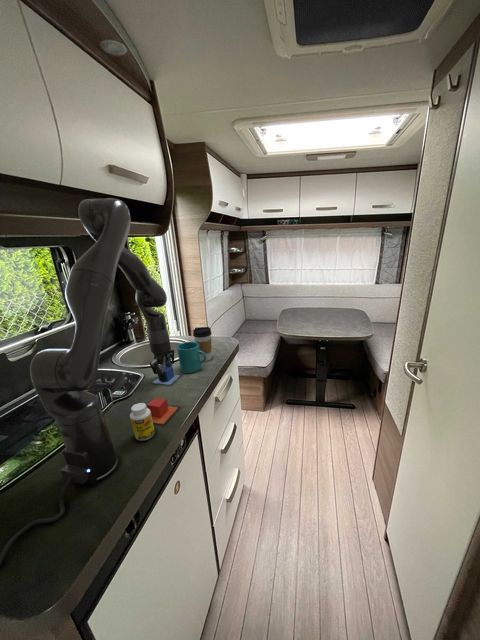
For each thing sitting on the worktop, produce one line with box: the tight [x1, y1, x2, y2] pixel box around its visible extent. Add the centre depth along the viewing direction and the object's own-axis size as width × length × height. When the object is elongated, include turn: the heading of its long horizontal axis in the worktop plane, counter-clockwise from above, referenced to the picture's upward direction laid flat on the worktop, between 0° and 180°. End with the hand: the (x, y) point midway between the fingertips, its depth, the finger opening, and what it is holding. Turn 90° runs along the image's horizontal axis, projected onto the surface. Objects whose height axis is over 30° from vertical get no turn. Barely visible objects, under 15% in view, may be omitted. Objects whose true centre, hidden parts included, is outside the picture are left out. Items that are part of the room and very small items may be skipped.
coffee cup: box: [192, 326, 212, 362], centre depth 129 cm, size 8×8×15 cm
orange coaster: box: [152, 405, 179, 425], centre depth 92 cm, size 9×9×1 cm
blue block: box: [157, 366, 175, 381], centre depth 114 cm, size 4×4×4 cm
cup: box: [176, 341, 207, 374], centre depth 120 cm, size 9×12×11 cm
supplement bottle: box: [129, 402, 156, 442], centre depth 81 cm, size 6×6×10 cm
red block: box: [146, 397, 169, 418], centre depth 92 cm, size 4×4×4 cm
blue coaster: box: [151, 373, 181, 386], centre depth 114 cm, size 8×8×1 cm
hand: (166, 377), depth 114 cm, fingers open, 4 cm apart
